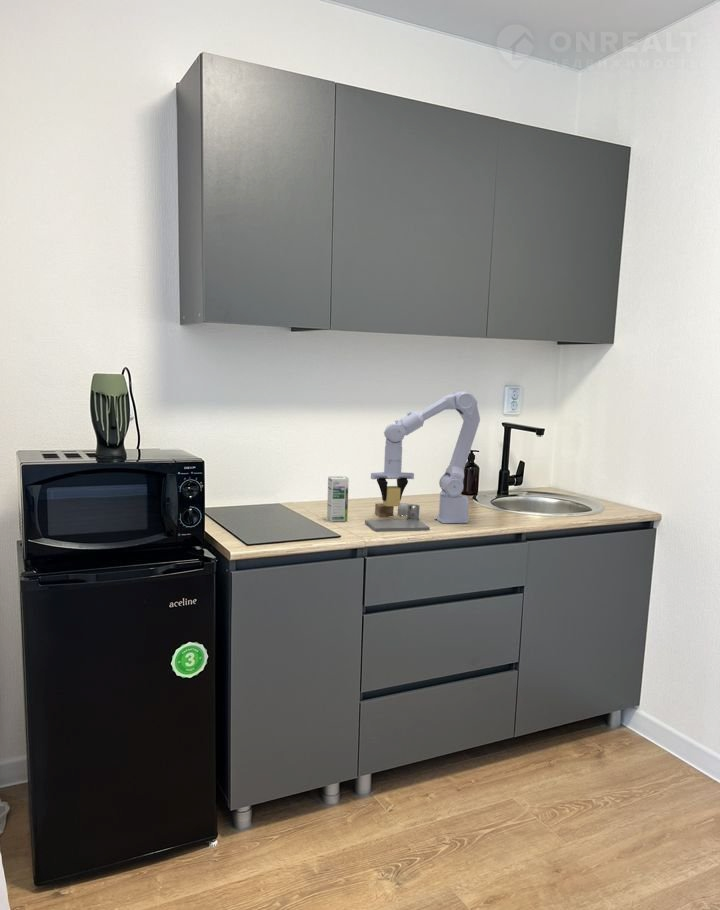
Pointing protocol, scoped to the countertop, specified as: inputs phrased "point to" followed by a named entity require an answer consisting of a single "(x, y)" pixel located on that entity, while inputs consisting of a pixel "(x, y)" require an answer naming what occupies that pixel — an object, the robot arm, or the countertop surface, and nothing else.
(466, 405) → the robot arm
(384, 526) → the slate board
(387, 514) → the walnut block
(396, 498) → the ochre block
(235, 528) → the countertop surface
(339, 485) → the syrup box
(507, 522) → the countertop surface
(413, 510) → the dark metal cylinder
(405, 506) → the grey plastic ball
